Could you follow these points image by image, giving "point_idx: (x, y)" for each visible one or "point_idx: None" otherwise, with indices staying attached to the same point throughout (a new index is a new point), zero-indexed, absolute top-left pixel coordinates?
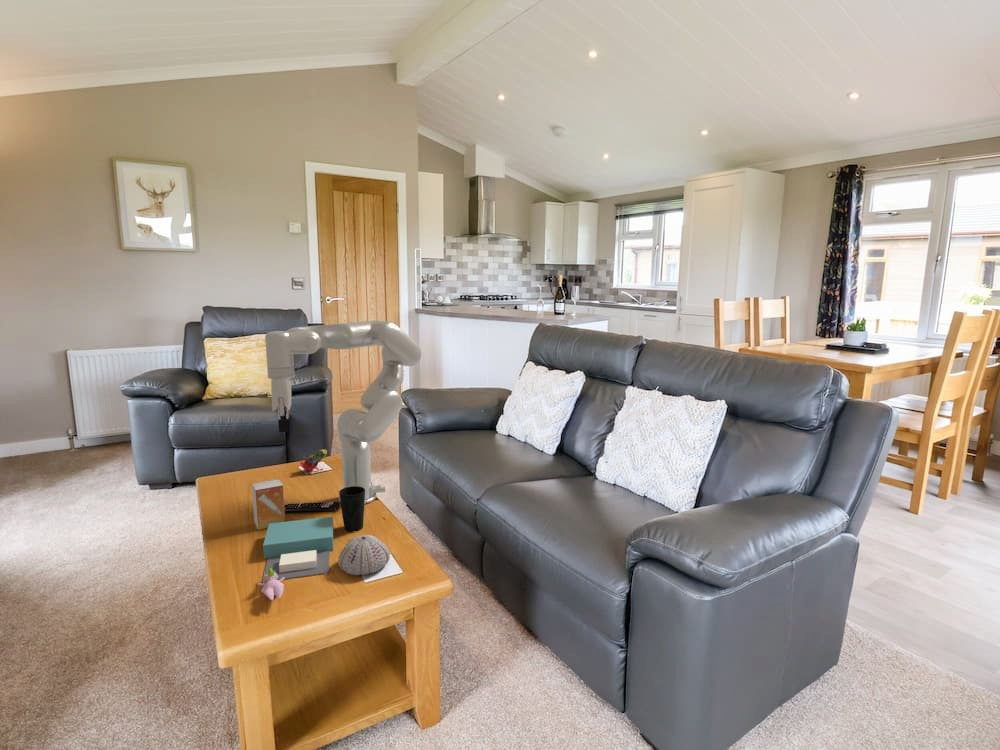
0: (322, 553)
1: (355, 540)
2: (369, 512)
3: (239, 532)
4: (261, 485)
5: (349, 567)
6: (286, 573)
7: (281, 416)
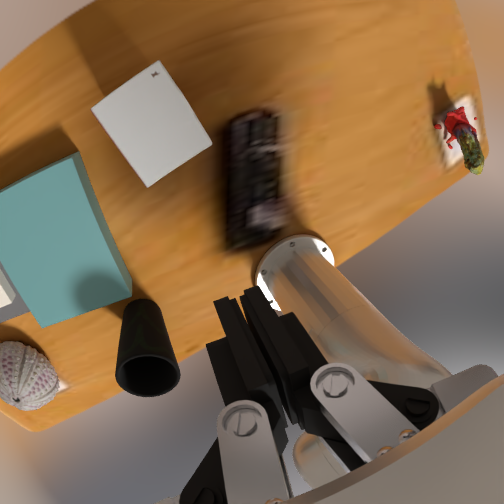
0: None
1: (7, 390)
2: None
3: (99, 61)
4: (137, 108)
5: None
6: None
7: (208, 475)
